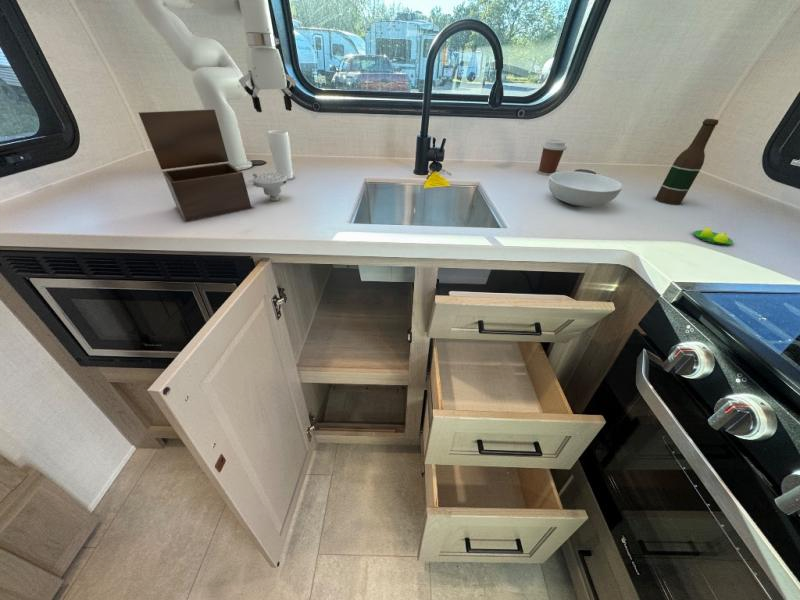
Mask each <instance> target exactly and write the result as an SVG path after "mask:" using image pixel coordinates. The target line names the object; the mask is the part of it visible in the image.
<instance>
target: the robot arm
mask: <svg viewBox="0 0 800 600" xmlns="http://www.w3.org/2000/svg"><path fill="white" fill-rule="evenodd" d="M132 1H133V3H134V4H135V6H136V8H137V10H138V11H139V12H140V14H141V15H142V16H143V17H144V19H145V20H146V21H147V22H148V23H149V24H150V25H151V26H152V27H153V28H154V29H155V31H156V32H157V33H158V34H159V36H161V37H162V39H163V40H164V42H165V43H166V45H167V46H168V47H169V48H170V50H171V51H172V52H173V54H174V55H175V57H176V58H177V60H179V62H180V63H181V64H182V65H183V67H185V68H186V69H187V70H189V71H191V72H193V73H192V83H193V86H194V89H195V90H196V93H197V96H198V97H199V100H200V101H201V104H202V107H203V110H209V109H214V110H215V112H216V116H217V120H218V124H219V127H220V131H221V135H222V138H223V142H224V146H225V149H226V153H227V157H228V160H229V162H220V163H217V164H224V163H230V164H231V165H232V166H234V167H235V168H237V169H238V170H240V171H242V170H247V169H250V168H252V167H253V162H252V161H250V160H248V159H247V155H246V150H245V146H244V142H243V139H242V135H241V130H240V126H239V121H238V119H237V115H236V113H235V111H234V109H233V108H232V107H231V106H230V104H229V102H228V101H233V100H234V101H235V100H241V99H244V98H245V97H247V95H249V96H250V97H251V99H252V104H253V108H254V110H255V111H256V112H257V113H262V112H263V110H262V105H261V100H260V97H259V96H258V94H259V92H260V90H280V91H281V92H282V93H283V94H284V95H283V102H284V109H285V110H286V111H289V112H292V108H293V105H292V104H293V103H292V98H291V97H292V95H293V92H294V91H295V86H296V84H297V79H296V78H294V77H292V76H291V75H289V74H288V73H286V72H285V68H284V63H283V61H282V56H281V54H280V51H279V49H278V48H277V45H280V39H279V38H277V37H275V36H276V35H275V34H274V29H273V23H272V17H271V12H270V5H269V0H132ZM193 6H196V7H197V8H199V9H200V10H202V11H204V12H205V13H207V14H209V15H211V16H213V17H216V18H221V19H228V20H235V21H241V22H242V23H243V26H244V33H245V38H246V42H247V47H245V61H246V68H247V72H246V74H243V73H242V71H241V70H240V68H239V67H238V65H237V64H236V62H235V61H234V59H233V58H232V57H231V55H230V54H229V52H228V51H227V50H226V48H225V47H224V46H223V44H222V43H220V42H219V41H217V40H215V39H214V38H210V37H201V36H198V35H194V34H193V33H192V32H191V31H190V29H188V27H187V25H186V24H185V23H184V21H183V20H181V18H180V17H178V15H176V13H174V12H173V11H171V10H170V9H169V8H173V9H174V8H175V9H181V10H188V9H190V8H193ZM248 81H249V84H250V87H251V88H250V87H249V86H248ZM287 81H288V82H289V86H288V85H287Z"/></svg>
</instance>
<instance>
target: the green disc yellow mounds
mask: <svg viewBox="0 0 800 600" xmlns="http://www.w3.org/2000/svg"><path fill="white" fill-rule="evenodd" d="M693 234H694V235H695V236H696V237H697V238H698V239H700V240H702V241H704V242H707V243H711V244H715V245H728V244H729V245H730V244H733V243H734V241H733V239H732V238H730V237H729V236H728V235H727V233H726V232H722V233H718V232H714V231H712V230H711V228H710V227H709V226H708V227H706V228H704V229H703V230H701V229H699V230H698V229H697V230H694V232H693Z"/></svg>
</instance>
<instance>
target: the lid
mask: <svg viewBox="0 0 800 600" xmlns="http://www.w3.org/2000/svg"><path fill="white" fill-rule="evenodd" d="M138 115H139V118H140V120H141V123H142V125H143V127H144V130H145V132H146V135H147V138H148V140H149V143H150V145H151V147H152V150H153V153H154V155H155V157H156V160H157V162H158V165H159V167H160V170H162V171H164V170H173V169H181V168H189V167H197V166H205V165H213V164H218V163H220V162H229V160H228V157H227V153H226V149H225V146H224V142H223V138H222V135H221V131H220V127H219V124H218V120H217V116H216V112H215V110H214V109H209V110H205V109H187V110H164V111H162V110H161V111H139V112H138Z"/></svg>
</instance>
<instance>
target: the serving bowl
mask: <svg viewBox="0 0 800 600" xmlns="http://www.w3.org/2000/svg"><path fill="white" fill-rule="evenodd" d="M548 176H549V177H548V189H549V191H550V193H551V194H552V195H553V197H554V198H556V199H558V200H559V201H561V202H564V203H566V204H569V205H572V206H576V207H598V206H603V205H607V204H608V203H610V202H612V201H613V200H614V199H615V198H617V197H618V195H619V194H620V192H621V191H622V189H623V185H622V183H621V182H620V181H618V180H617V179H613V178H611V177H608V176H604V175H601V174H597V173H592V172H585V171H576V170H562V171H555V173H552V174H551V175H548Z"/></svg>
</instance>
